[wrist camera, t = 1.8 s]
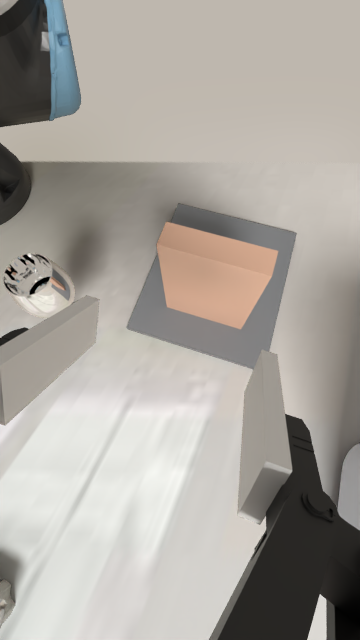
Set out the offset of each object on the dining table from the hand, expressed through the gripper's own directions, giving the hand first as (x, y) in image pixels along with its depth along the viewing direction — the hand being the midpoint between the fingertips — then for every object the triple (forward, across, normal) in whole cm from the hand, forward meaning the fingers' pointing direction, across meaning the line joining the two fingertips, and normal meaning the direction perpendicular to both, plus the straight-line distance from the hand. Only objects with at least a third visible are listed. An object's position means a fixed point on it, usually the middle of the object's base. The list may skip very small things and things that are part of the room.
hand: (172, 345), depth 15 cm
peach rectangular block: (+22, 0, -7) cm, 23 cm away
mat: (+26, 0, -4) cm, 26 cm away
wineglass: (+18, -16, -12) cm, 27 cm away
